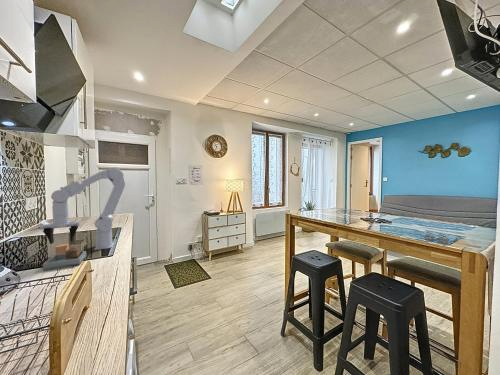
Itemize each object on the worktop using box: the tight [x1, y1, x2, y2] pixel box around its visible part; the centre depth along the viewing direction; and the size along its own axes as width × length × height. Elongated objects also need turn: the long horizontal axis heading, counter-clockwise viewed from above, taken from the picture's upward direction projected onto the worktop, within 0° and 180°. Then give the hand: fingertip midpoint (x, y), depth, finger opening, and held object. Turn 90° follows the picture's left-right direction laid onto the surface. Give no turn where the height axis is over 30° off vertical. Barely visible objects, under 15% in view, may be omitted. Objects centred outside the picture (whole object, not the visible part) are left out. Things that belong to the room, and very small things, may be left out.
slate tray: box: [42, 250, 87, 272], centre depth 93 cm, size 11×12×3 cm
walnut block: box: [66, 247, 81, 260], centre depth 94 cm, size 4×4×5 cm
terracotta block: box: [55, 243, 70, 255], centre depth 103 cm, size 4×4×5 cm
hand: (62, 242), depth 103 cm, fingers open, 7 cm apart
